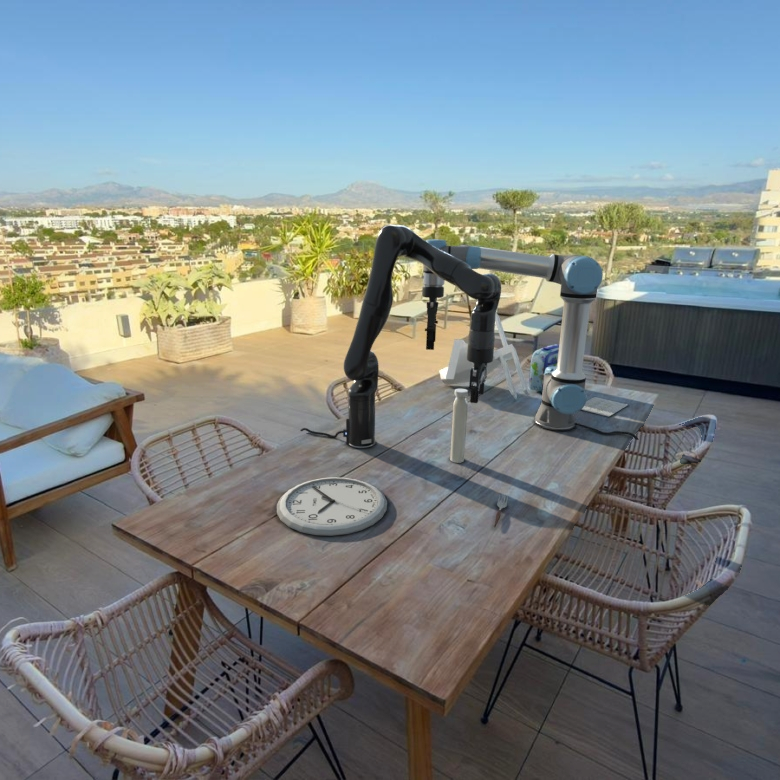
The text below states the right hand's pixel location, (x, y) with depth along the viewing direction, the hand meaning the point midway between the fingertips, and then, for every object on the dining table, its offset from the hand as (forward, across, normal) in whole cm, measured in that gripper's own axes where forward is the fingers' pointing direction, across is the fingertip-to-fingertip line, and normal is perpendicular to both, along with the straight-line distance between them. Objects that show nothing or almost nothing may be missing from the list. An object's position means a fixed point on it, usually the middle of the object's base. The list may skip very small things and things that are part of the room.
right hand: (430, 345), depth 188 cm
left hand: (+8, +35, +16) cm, 39 cm away
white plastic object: (+32, -50, +22) cm, 64 cm away
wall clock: (+32, +61, -23) cm, 73 cm away
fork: (+32, +59, +22) cm, 71 cm away
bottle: (+32, +26, +11) cm, 43 cm away
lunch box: (+32, -61, +55) cm, 89 cm away
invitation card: (+32, -38, +73) cm, 89 cm away
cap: (+9, +26, +11) cm, 30 cm away
